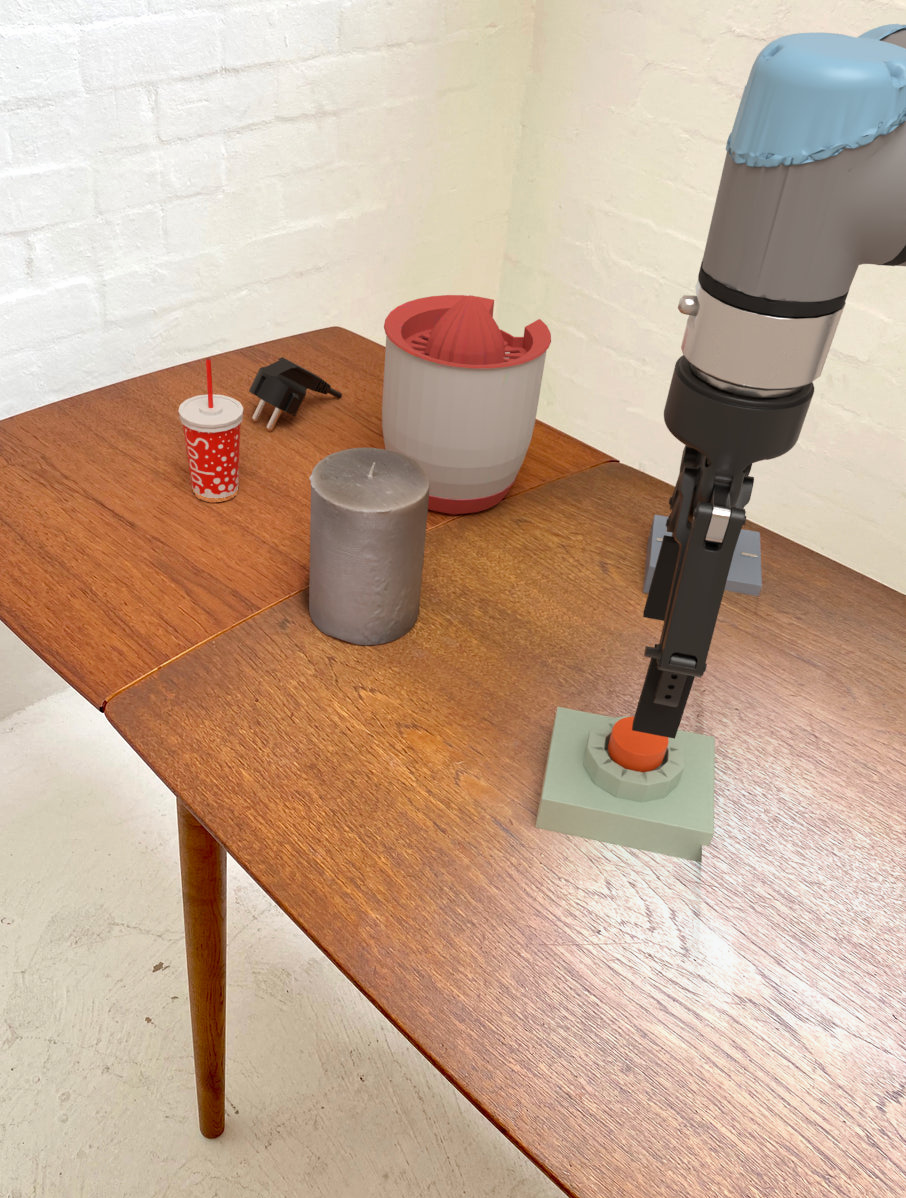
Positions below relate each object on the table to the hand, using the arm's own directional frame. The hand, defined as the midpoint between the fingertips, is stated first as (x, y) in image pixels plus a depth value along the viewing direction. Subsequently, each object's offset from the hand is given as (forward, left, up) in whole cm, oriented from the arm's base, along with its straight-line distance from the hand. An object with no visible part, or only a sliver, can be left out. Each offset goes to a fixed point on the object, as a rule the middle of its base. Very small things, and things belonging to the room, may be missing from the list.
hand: (658, 671), depth 75 cm
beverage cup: (+43, -31, -12) cm, 54 cm away
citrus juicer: (+20, -40, -12) cm, 46 cm away
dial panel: (-5, -31, -12) cm, 34 cm away
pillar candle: (+24, -16, -12) cm, 31 cm away
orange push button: (0, 0, -8) cm, 8 cm away
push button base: (0, 0, -12) cm, 12 cm away
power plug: (+40, -49, -12) cm, 64 cm away
